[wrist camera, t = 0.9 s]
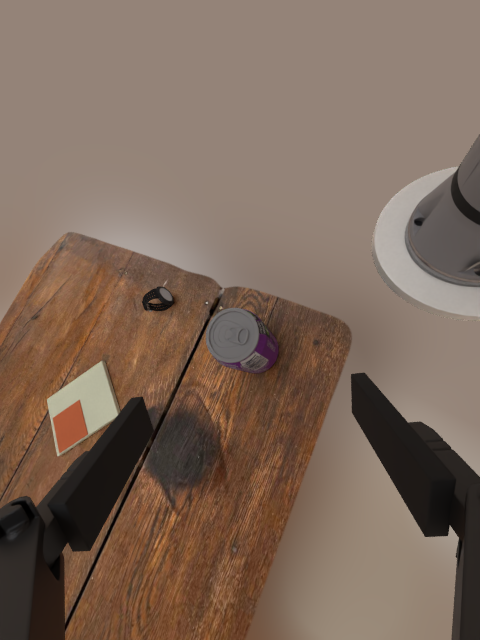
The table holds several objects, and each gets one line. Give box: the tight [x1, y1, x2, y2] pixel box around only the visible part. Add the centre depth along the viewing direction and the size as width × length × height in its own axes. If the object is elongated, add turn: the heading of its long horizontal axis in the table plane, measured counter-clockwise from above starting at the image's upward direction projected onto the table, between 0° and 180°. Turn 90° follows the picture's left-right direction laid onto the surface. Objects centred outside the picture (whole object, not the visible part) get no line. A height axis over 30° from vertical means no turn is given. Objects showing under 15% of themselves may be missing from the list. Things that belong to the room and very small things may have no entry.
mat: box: [47, 361, 120, 456], centre depth 43 cm, size 14×11×1 cm
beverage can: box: [206, 308, 279, 373], centre depth 31 cm, size 7×7×12 cm
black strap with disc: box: [142, 287, 174, 312], centre depth 42 cm, size 4×5×5 cm
